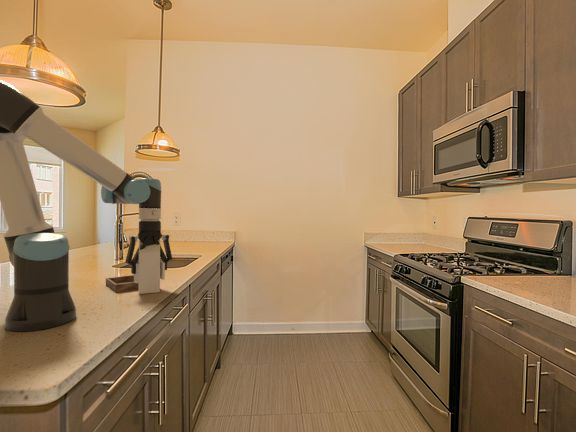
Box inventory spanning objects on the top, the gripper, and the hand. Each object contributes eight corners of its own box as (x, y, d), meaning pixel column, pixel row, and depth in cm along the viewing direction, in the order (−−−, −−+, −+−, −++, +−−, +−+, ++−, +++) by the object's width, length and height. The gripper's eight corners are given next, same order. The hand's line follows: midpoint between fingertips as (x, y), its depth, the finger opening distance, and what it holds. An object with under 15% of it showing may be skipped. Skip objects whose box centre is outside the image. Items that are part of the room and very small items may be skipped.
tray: (115, 292, 116) (115, 284, 116) (105, 285, 127) (105, 278, 127) (154, 286, 126) (154, 279, 126) (142, 280, 136) (142, 273, 136)
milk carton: (159, 292, 117) (160, 241, 116) (138, 294, 114) (138, 241, 114) (159, 288, 123) (160, 239, 123) (139, 289, 121) (139, 239, 120)
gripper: (121, 221, 108) (121, 287, 109) (182, 220, 123) (181, 278, 123) (115, 220, 114) (115, 283, 114) (174, 219, 128) (173, 275, 129)
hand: (149, 280), depth 119 cm, fingers closed on milk carton, 9 cm apart
